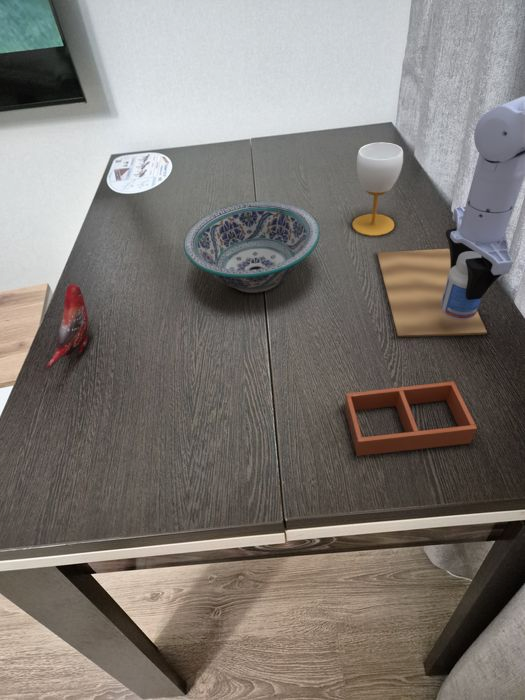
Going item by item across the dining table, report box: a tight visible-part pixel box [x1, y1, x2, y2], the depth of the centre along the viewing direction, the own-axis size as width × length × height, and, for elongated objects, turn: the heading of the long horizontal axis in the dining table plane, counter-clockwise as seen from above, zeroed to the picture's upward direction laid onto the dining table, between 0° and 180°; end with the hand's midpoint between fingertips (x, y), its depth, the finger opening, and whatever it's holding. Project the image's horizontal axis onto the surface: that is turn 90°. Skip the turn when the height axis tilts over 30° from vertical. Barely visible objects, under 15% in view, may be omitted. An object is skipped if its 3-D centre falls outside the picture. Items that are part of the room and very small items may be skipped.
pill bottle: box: [441, 251, 482, 320], centre depth 67 cm, size 6×5×10 cm
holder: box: [344, 380, 478, 457], centre depth 59 cm, size 15×8×4 cm, turn 94°
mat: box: [376, 248, 488, 339], centre depth 79 cm, size 24×14×1 cm, turn 178°
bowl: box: [183, 200, 321, 294], centre depth 84 cm, size 25×25×10 cm
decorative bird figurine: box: [45, 283, 90, 371], centre depth 72 cm, size 3×18×10 cm, turn 178°
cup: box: [352, 141, 404, 237], centre depth 90 cm, size 9×9×16 cm
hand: (465, 285), depth 67 cm, fingers closed on pill bottle, 5 cm apart
